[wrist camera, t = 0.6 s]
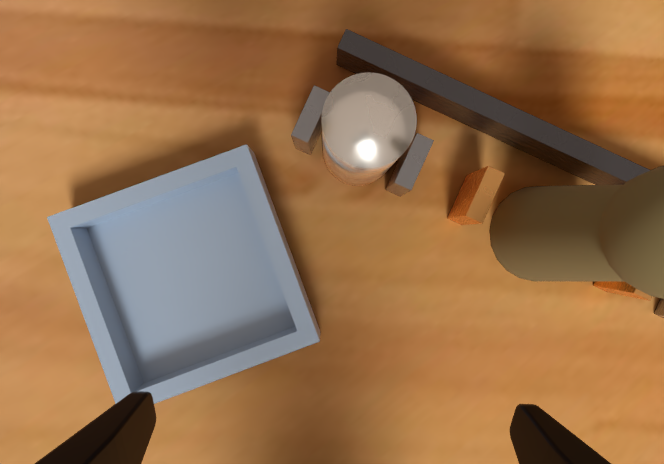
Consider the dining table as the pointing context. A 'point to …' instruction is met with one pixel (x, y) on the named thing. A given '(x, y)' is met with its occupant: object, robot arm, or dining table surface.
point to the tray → (185, 277)
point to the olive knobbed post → (585, 233)
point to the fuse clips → (398, 140)
